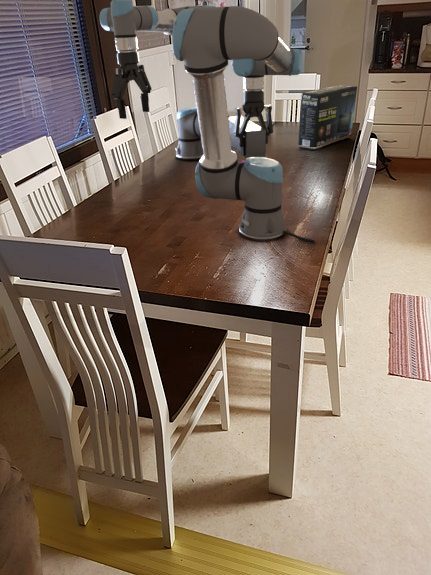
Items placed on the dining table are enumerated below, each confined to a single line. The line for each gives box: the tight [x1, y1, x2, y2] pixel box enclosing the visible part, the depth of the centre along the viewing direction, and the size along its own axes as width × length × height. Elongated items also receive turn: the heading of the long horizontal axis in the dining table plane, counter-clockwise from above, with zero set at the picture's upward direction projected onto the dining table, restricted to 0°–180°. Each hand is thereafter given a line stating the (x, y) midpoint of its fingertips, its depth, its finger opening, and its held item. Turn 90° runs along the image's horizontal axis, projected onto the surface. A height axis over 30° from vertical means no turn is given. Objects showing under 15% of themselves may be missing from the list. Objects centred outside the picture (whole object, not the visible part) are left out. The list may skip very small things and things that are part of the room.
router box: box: [297, 84, 358, 151], centre depth 238 cm, size 36×11×27 cm, turn 134°
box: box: [228, 115, 266, 159], centre depth 183 cm, size 28×8×10 cm, turn 16°
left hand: (135, 115), depth 171 cm, fingers open, 13 cm apart
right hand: (253, 153), depth 176 cm, fingers closed on box, 7 cm apart
